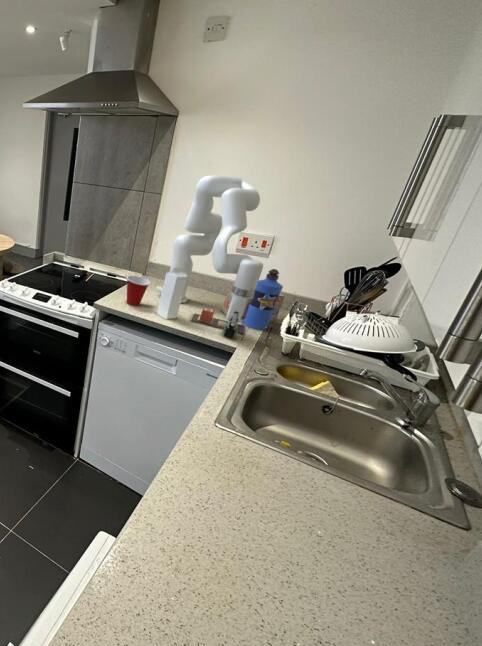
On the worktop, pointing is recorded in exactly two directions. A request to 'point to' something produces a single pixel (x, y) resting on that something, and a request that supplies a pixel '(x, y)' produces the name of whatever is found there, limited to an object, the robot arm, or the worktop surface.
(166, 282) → the milk
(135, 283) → the plastic cup
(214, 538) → the worktop surface
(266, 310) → the water bottle
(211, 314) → the letter H
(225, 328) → the letter I
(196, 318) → the word board
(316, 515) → the worktop surface
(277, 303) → the stack of blocks
